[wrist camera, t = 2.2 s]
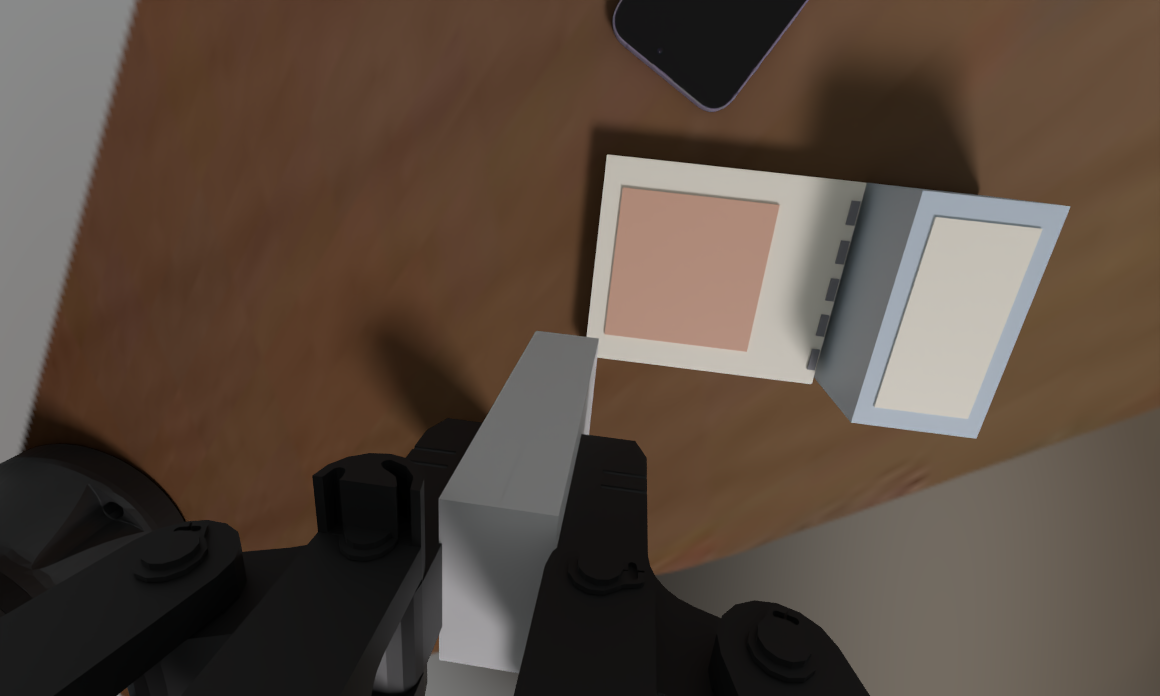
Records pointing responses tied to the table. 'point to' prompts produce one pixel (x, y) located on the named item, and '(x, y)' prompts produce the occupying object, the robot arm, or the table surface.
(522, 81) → the table surface
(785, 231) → the board
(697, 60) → the smartphone
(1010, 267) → the blue framed panel box
